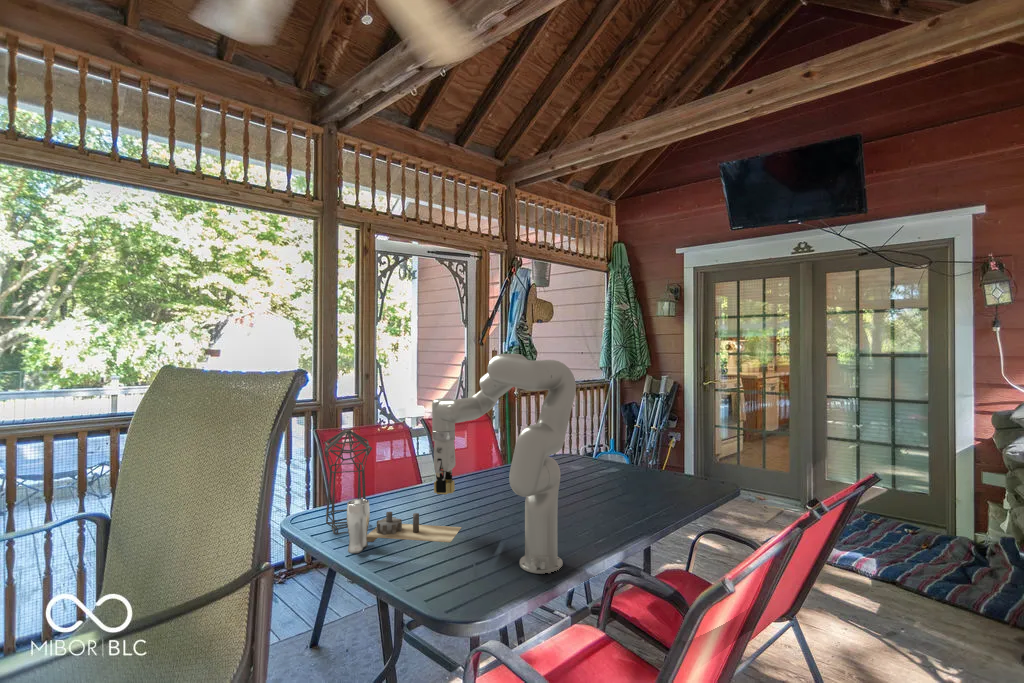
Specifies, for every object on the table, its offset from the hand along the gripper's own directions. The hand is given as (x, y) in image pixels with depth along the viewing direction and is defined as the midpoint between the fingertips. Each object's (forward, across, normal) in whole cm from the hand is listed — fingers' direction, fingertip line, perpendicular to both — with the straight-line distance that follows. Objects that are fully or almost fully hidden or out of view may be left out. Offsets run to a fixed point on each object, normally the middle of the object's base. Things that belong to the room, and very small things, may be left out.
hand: (444, 489), depth 172 cm
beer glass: (+16, -14, +24) cm, 32 cm away
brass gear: (+1, 0, 0) cm, 1 cm away
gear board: (+16, 0, +11) cm, 19 cm away
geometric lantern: (+16, +2, +36) cm, 40 cm away
